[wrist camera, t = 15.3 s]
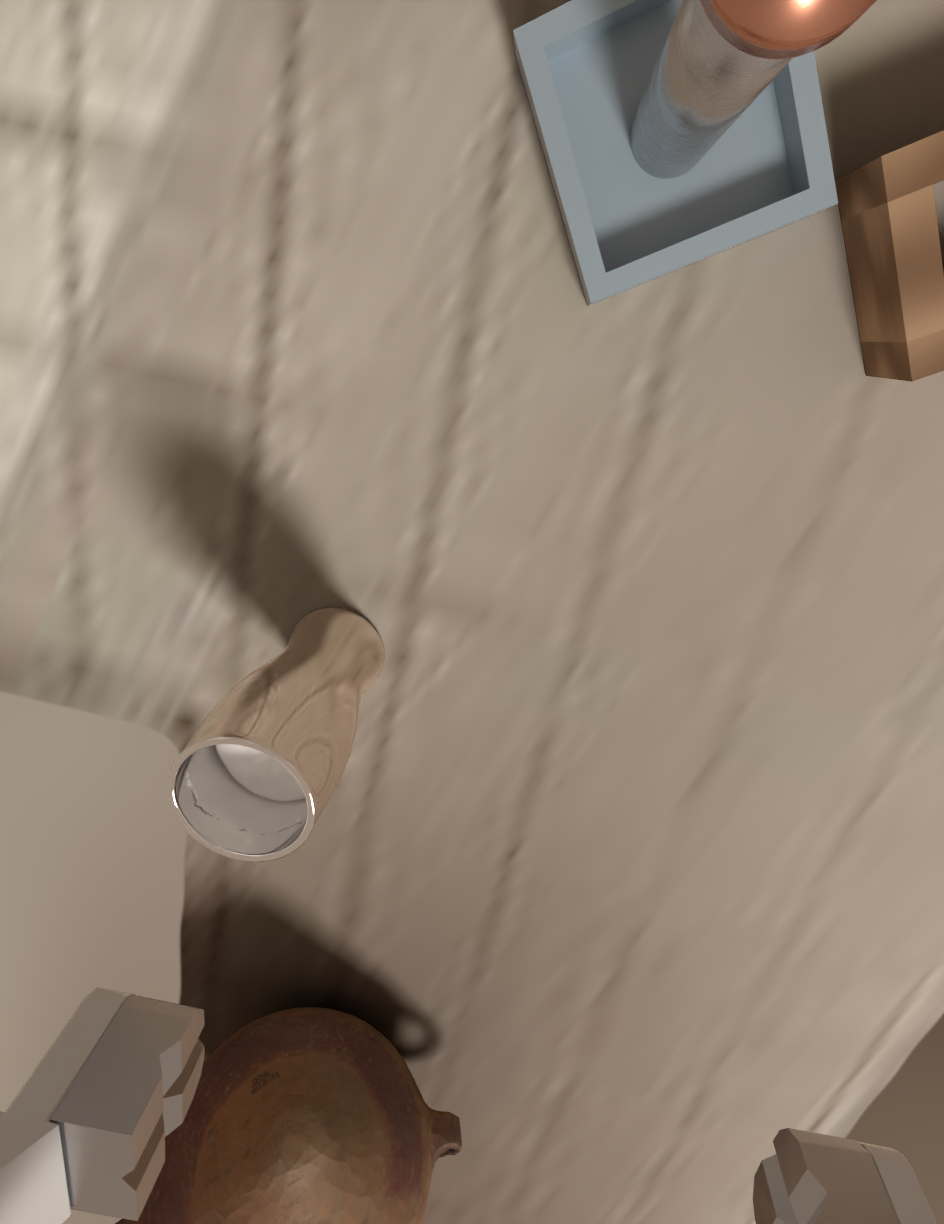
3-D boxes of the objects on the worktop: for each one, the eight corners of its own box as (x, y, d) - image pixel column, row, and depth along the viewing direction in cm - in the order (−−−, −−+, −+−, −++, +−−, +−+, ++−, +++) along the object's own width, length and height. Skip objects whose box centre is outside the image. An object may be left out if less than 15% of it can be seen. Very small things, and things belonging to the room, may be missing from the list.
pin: (606, 97, 30) (681, -177, 14) (710, 48, 29) (920, -307, 13) (633, 208, 31) (730, 77, 15) (734, 165, 30) (947, -22, 14)
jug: (275, 920, 52) (237, 1076, 68) (62, 1224, 36) (79, 1333, 52) (509, 1053, 49) (412, 1183, 66) (395, 1448, 33) (303, 1490, 49)
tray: (515, 53, 30) (513, 30, 27) (767, -73, 27) (788, -111, 25) (587, 306, 33) (591, 303, 31) (816, 213, 31) (838, 203, 29)
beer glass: (384, 597, 41) (303, 732, 27) (398, 697, 43) (331, 866, 29) (274, 602, 41) (142, 735, 28) (295, 699, 44) (183, 866, 30)
